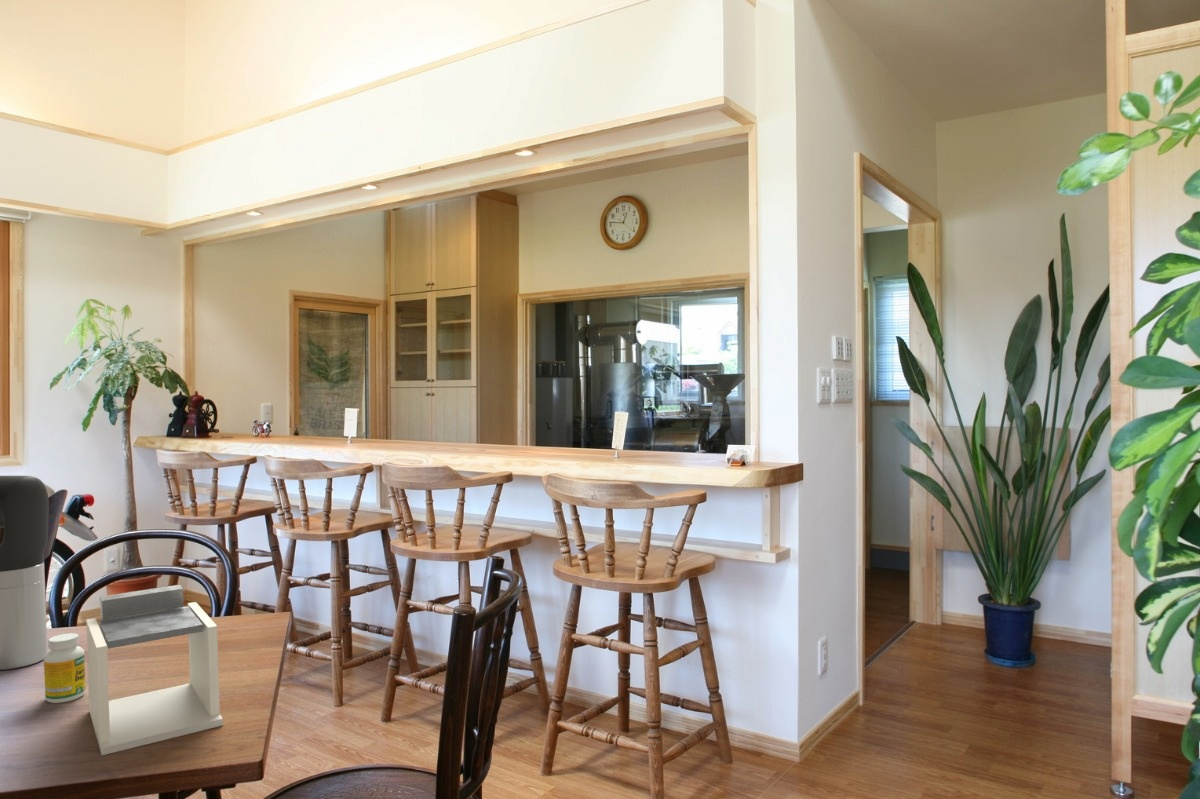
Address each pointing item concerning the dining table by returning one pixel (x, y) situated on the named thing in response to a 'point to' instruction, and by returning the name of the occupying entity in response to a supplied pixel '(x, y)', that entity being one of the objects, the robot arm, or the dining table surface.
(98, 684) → the trapdoor stand
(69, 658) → the supplement bottle
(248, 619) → the dining table surface
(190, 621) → the trapdoor
